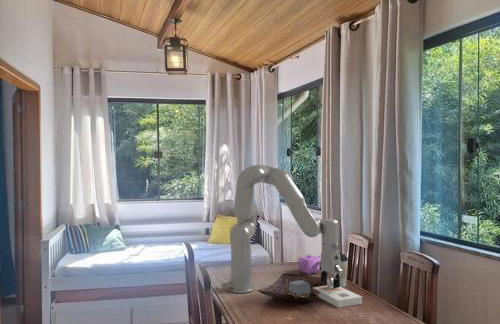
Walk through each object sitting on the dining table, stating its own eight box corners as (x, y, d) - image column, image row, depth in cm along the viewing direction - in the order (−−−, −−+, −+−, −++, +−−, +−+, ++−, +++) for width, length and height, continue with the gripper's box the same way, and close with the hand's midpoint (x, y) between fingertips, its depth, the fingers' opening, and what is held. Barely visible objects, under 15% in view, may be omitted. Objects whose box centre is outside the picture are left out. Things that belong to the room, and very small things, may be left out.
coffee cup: (348, 288, 209) (348, 256, 209) (329, 287, 211) (328, 255, 211) (348, 282, 218) (347, 252, 218) (329, 281, 220) (329, 251, 219)
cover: (296, 299, 193) (296, 285, 193) (288, 294, 199) (288, 281, 199) (310, 297, 196) (310, 283, 196) (302, 292, 202) (302, 279, 202)
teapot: (305, 278, 225) (305, 259, 225) (289, 273, 236) (289, 255, 236) (331, 273, 235) (331, 255, 235) (314, 268, 246) (314, 251, 246)
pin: (329, 296, 196) (329, 278, 196) (325, 295, 199) (325, 277, 199) (334, 295, 197) (334, 278, 197) (331, 294, 200) (330, 276, 200)
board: (338, 307, 182) (338, 300, 182) (312, 294, 200) (312, 287, 200) (362, 303, 187) (362, 296, 187) (334, 290, 205) (334, 283, 205)
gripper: (348, 249, 191) (348, 288, 192) (326, 242, 207) (326, 278, 207) (334, 251, 188) (334, 291, 189) (312, 244, 204) (312, 280, 204)
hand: (330, 284), depth 198 cm, fingers open, 9 cm apart
